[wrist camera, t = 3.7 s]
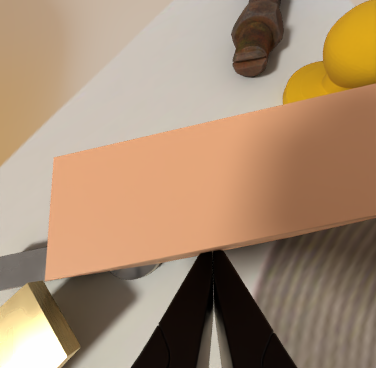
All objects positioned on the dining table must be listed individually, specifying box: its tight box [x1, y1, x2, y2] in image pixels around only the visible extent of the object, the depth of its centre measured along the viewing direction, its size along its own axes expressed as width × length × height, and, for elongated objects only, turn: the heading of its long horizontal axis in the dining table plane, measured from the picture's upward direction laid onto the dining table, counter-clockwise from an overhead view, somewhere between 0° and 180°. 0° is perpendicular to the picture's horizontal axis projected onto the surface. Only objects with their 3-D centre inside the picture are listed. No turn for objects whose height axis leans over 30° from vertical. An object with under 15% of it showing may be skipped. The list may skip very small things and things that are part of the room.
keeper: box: [0, 280, 81, 368], centre depth 12 cm, size 9×5×4 cm, turn 135°
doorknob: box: [283, 0, 376, 105], centre depth 15 cm, size 8×8×8 cm
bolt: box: [231, 0, 284, 77], centre depth 20 cm, size 6×5×15 cm
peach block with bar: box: [0, 84, 376, 291], centre depth 10 cm, size 4×22×11 cm, turn 100°
